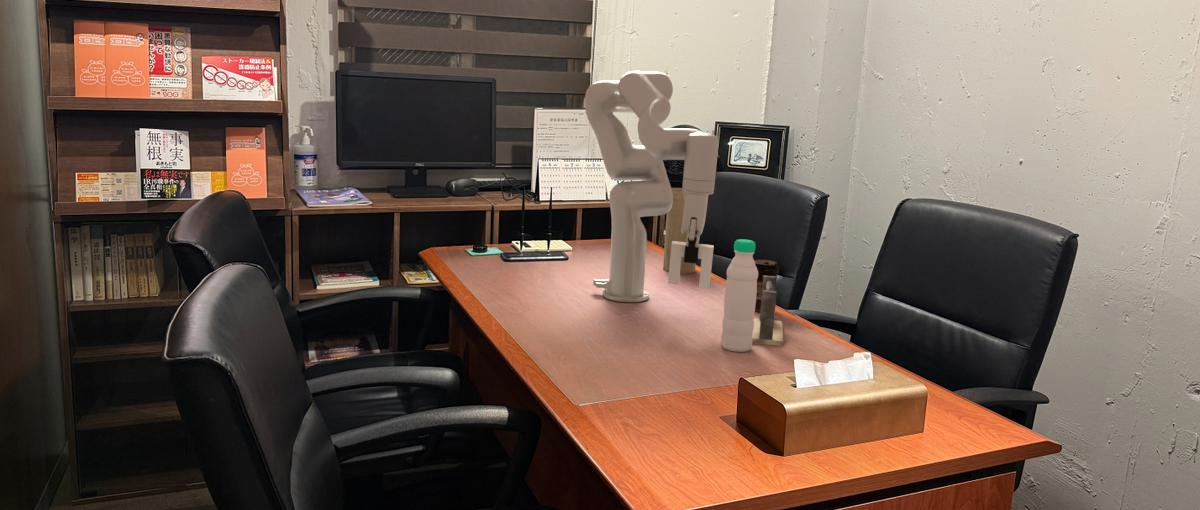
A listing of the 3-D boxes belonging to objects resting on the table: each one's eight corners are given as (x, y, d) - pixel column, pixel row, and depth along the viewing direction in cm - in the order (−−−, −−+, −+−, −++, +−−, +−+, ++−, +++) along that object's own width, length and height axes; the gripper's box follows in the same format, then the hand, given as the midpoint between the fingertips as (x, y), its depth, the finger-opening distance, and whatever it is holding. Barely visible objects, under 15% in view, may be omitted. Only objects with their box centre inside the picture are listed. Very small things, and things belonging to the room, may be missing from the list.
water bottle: (717, 342, 203) (726, 237, 197) (747, 343, 203) (756, 237, 198) (724, 352, 196) (733, 243, 190) (755, 353, 196) (764, 244, 191)
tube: (700, 269, 275) (706, 190, 269) (686, 275, 267) (691, 194, 261) (672, 264, 280) (677, 187, 275) (657, 269, 272) (662, 190, 266)
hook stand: (747, 342, 204) (752, 290, 201) (749, 322, 220) (753, 274, 217) (782, 346, 202) (787, 294, 200) (781, 325, 219) (786, 277, 216)
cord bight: (667, 283, 212) (671, 243, 210) (669, 280, 215) (672, 240, 213) (709, 288, 211) (713, 248, 208) (709, 285, 214) (713, 245, 211)
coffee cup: (775, 315, 228) (779, 266, 225) (742, 312, 229) (747, 263, 226) (775, 306, 236) (779, 259, 233) (744, 303, 238) (748, 256, 235)
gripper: (685, 179, 215) (678, 251, 220) (679, 190, 200) (672, 267, 204) (716, 182, 214) (708, 254, 219) (712, 193, 199) (704, 271, 203)
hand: (691, 260), depth 211 cm, fingers closed on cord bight, 2 cm apart
